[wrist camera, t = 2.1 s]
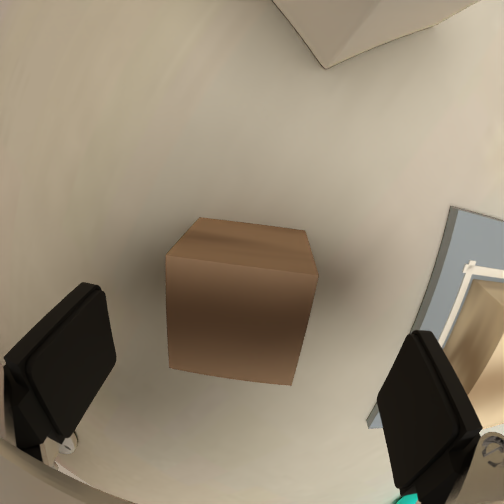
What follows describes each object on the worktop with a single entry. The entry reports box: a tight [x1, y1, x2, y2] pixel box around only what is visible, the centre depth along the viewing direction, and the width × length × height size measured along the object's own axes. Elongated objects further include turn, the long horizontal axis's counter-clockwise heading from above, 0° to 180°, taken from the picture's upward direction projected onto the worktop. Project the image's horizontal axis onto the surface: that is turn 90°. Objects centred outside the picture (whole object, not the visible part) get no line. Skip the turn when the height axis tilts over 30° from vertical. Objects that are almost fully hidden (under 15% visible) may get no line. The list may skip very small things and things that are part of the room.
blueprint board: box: [367, 206, 504, 429], centre depth 15 cm, size 16×14×1 cm
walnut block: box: [166, 217, 319, 386], centre depth 13 cm, size 5×5×5 cm
